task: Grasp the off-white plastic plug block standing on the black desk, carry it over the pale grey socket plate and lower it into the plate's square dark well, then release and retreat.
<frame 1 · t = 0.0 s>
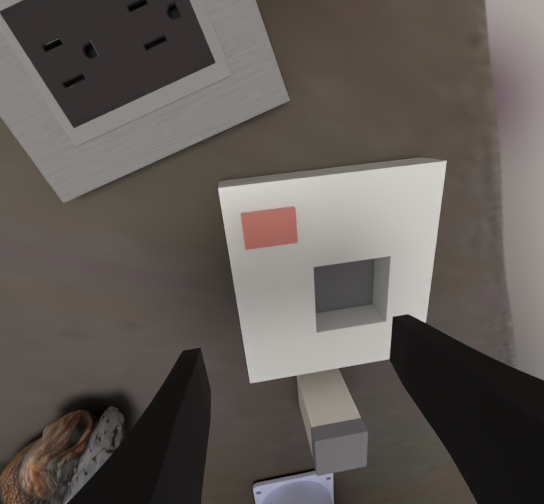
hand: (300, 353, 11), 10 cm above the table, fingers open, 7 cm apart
socket plate: (326, 268, 22), on the table
plug: (317, 384, 26), on the table
electrical outlet: (131, 52, 16), on the table
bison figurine: (68, 435, 25), on the table
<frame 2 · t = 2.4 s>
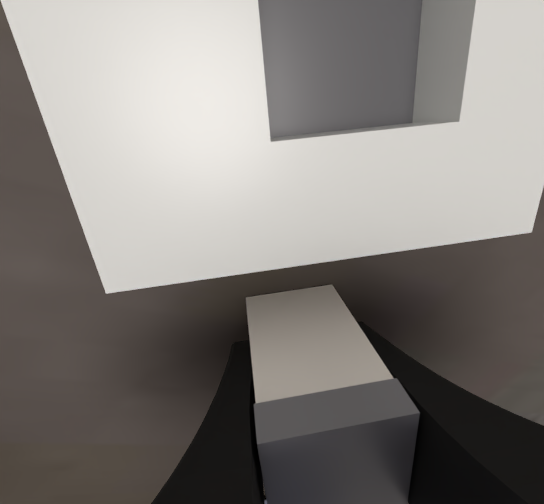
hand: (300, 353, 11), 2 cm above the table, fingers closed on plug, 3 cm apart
socket plate: (300, 0, 8), on the table
plug: (292, 326, 13), on the table, touching gripper
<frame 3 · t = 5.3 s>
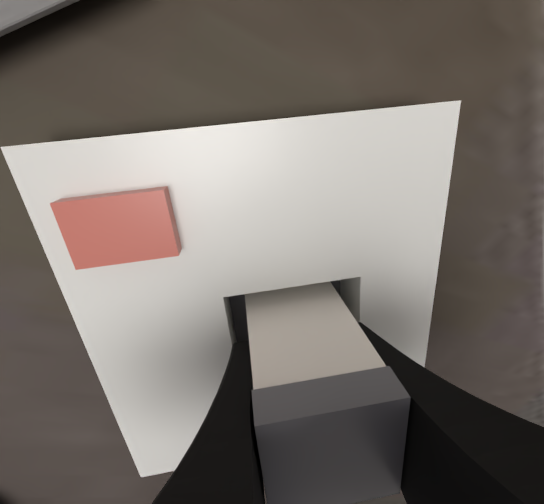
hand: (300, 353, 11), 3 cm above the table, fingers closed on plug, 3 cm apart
socket plate: (262, 293, 13), on the table
plug: (290, 321, 13), point 1 cm above the table, touching gripper
when the fingers open (3 cm above the table, at t = 5.4 s): plug stays where it is, resting on socket plate.
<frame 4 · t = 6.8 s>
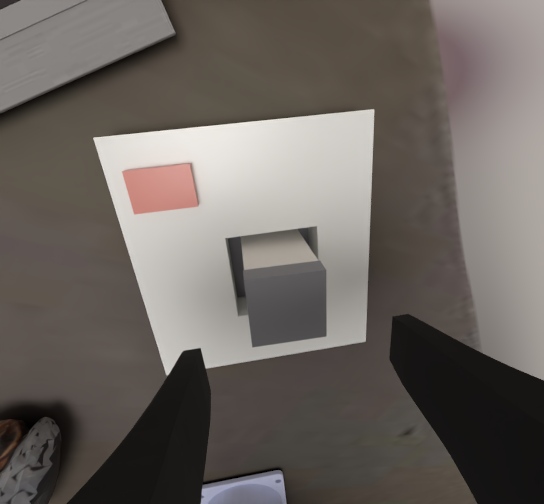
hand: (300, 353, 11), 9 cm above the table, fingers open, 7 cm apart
socket plate: (253, 244, 19), on the table
plug: (271, 257, 19), resting on socket plate
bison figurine: (0, 444, 23), on the table
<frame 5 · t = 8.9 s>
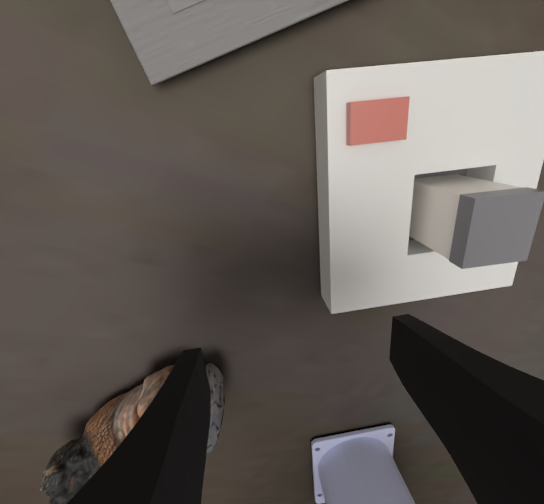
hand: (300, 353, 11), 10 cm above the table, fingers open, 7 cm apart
socket plate: (413, 190, 20), on the table
plug: (428, 203, 20), resting on socket plate
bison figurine: (150, 393, 24), on the table
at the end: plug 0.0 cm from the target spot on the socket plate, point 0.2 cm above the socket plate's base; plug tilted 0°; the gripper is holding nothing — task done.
